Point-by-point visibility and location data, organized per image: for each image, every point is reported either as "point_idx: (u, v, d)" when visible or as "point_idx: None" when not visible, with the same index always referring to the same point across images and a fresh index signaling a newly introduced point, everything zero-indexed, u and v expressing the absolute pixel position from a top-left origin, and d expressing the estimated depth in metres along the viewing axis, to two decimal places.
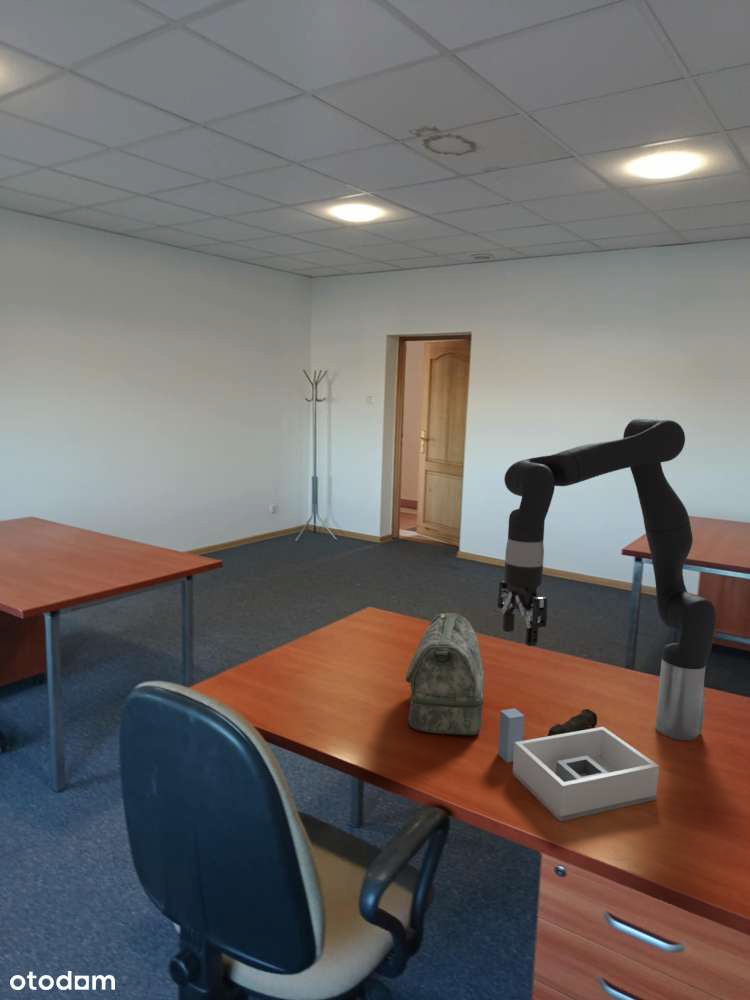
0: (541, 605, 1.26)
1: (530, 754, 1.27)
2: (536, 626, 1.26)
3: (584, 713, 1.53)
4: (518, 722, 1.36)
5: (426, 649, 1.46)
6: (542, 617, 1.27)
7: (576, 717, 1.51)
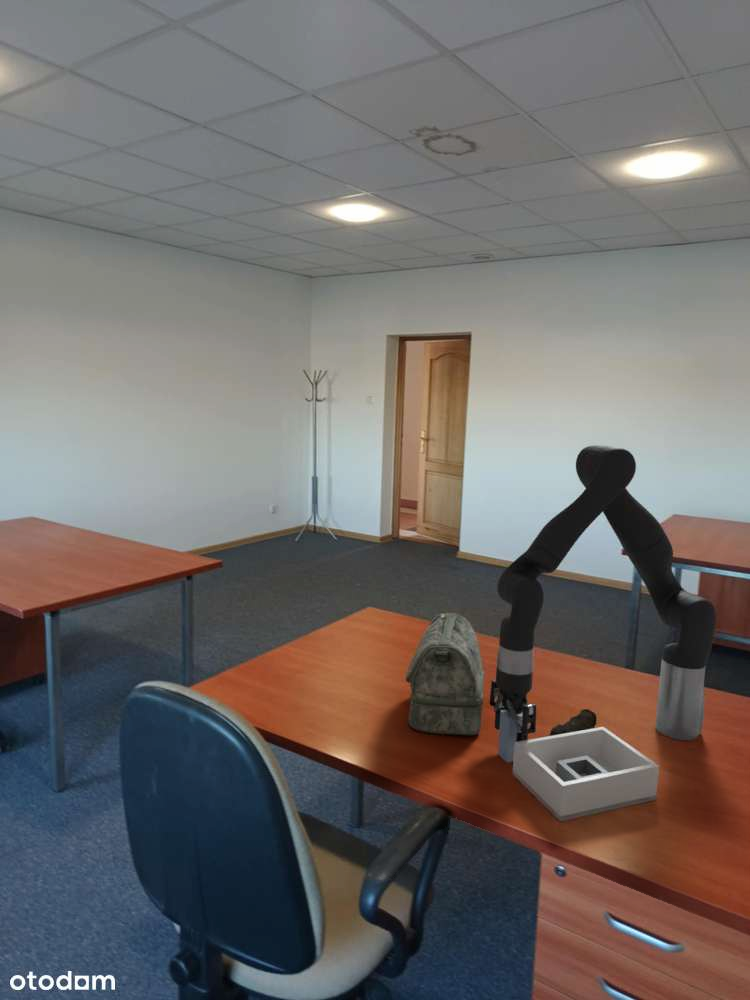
0: (530, 712, 1.31)
1: (530, 754, 1.27)
2: (526, 733, 1.31)
3: (583, 713, 1.53)
4: None
5: (426, 649, 1.46)
6: (531, 723, 1.32)
7: (576, 717, 1.51)
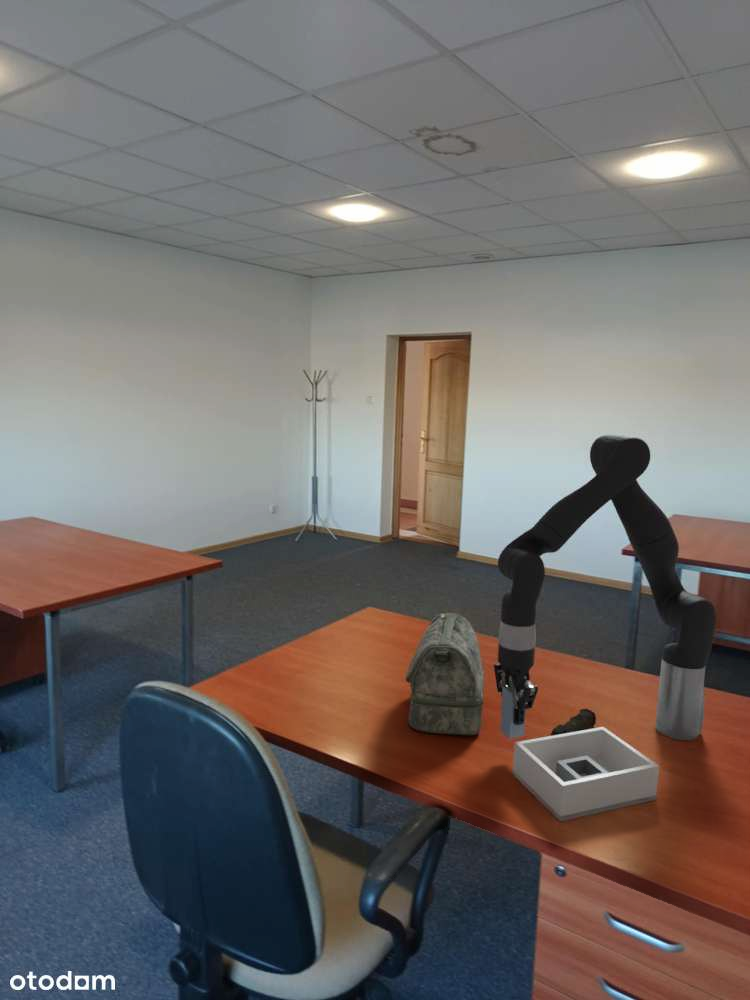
0: (531, 694, 1.31)
1: (530, 754, 1.27)
2: (522, 708, 1.32)
3: (583, 713, 1.53)
4: None
5: (426, 649, 1.46)
6: (529, 700, 1.33)
7: (576, 717, 1.51)
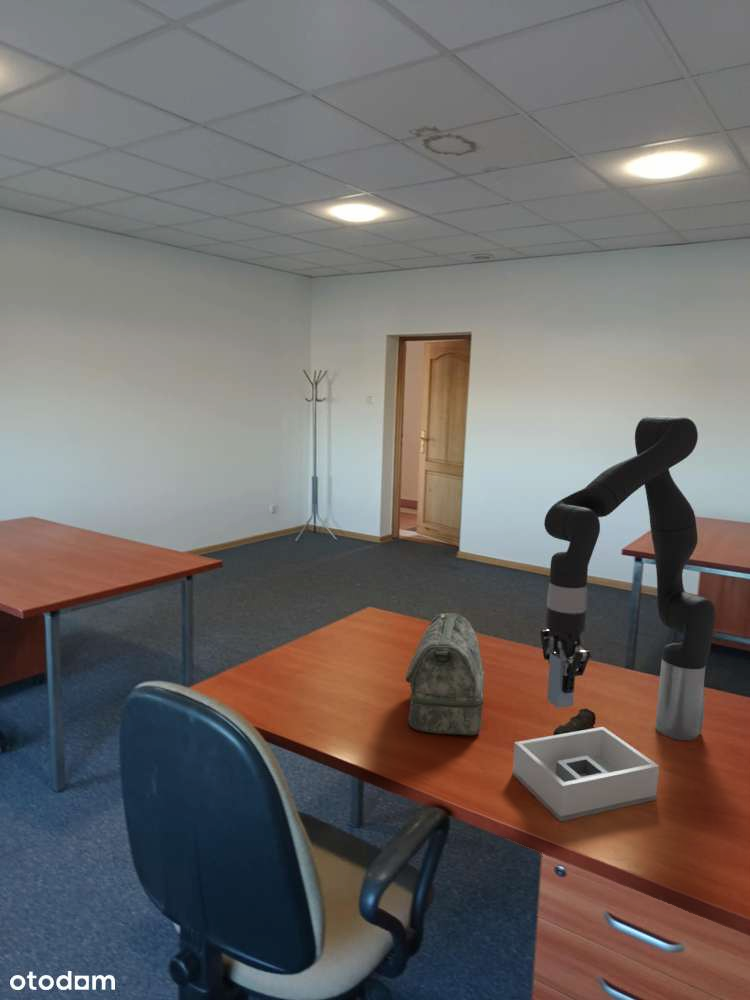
0: (583, 659, 1.23)
1: (530, 754, 1.27)
2: (573, 675, 1.25)
3: (582, 713, 1.53)
4: (570, 665, 1.28)
5: (426, 649, 1.46)
6: (580, 666, 1.25)
7: (576, 717, 1.51)
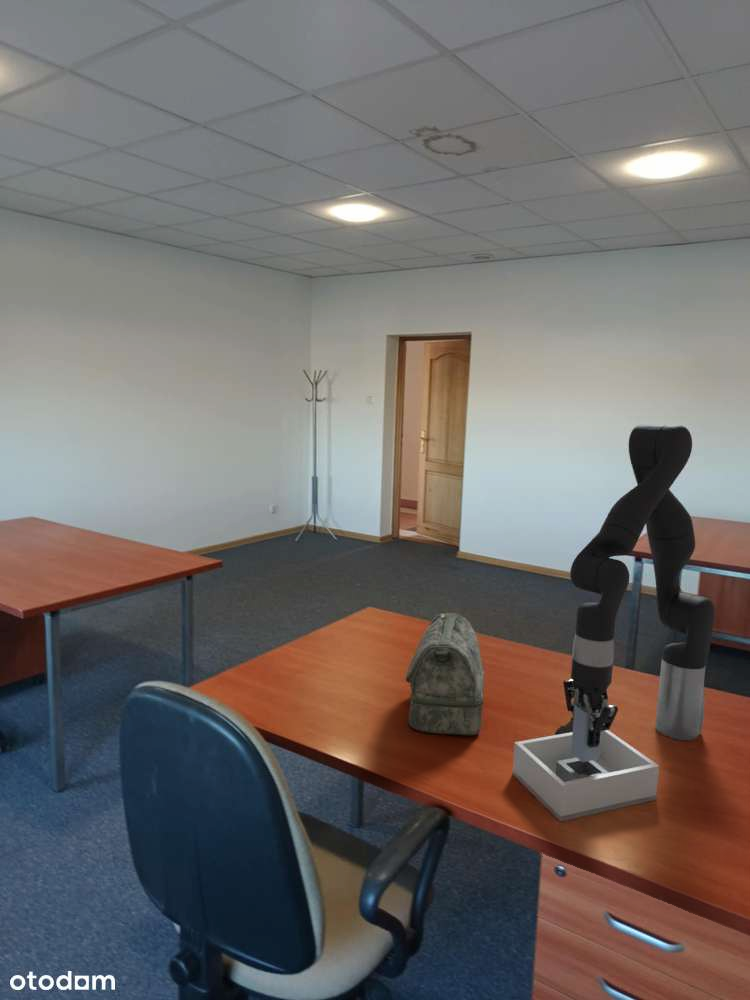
0: (610, 714, 1.20)
1: (530, 754, 1.27)
2: (599, 730, 1.22)
3: None
4: (596, 718, 1.25)
5: (426, 649, 1.46)
6: None
7: None
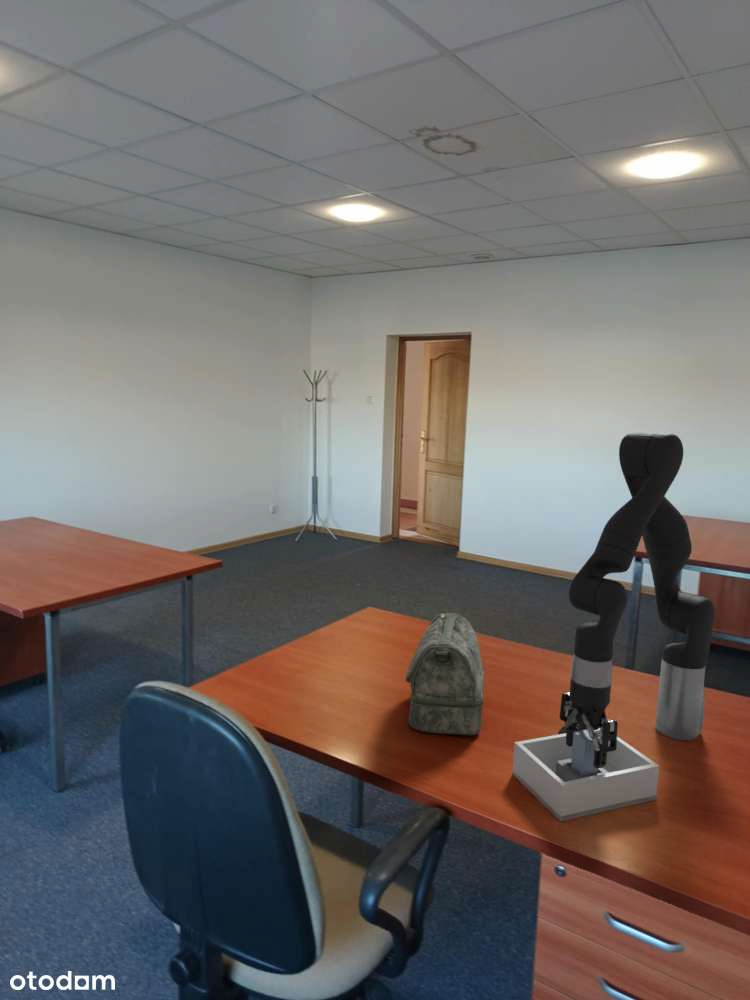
0: (611, 729, 1.20)
1: (530, 754, 1.27)
2: (606, 751, 1.20)
3: None
4: None
5: (426, 649, 1.46)
6: (612, 740, 1.22)
7: None
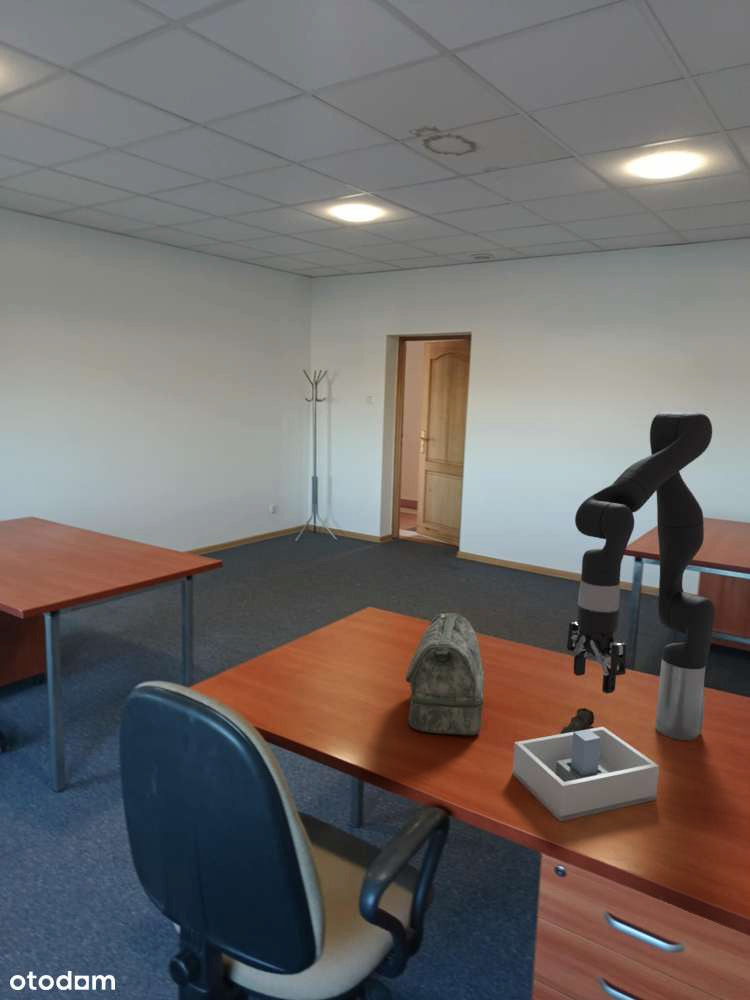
0: (620, 652, 1.20)
1: (530, 754, 1.27)
2: (615, 674, 1.20)
3: (581, 712, 1.53)
4: (594, 745, 1.26)
5: (426, 649, 1.46)
6: (621, 664, 1.21)
7: (577, 717, 1.51)
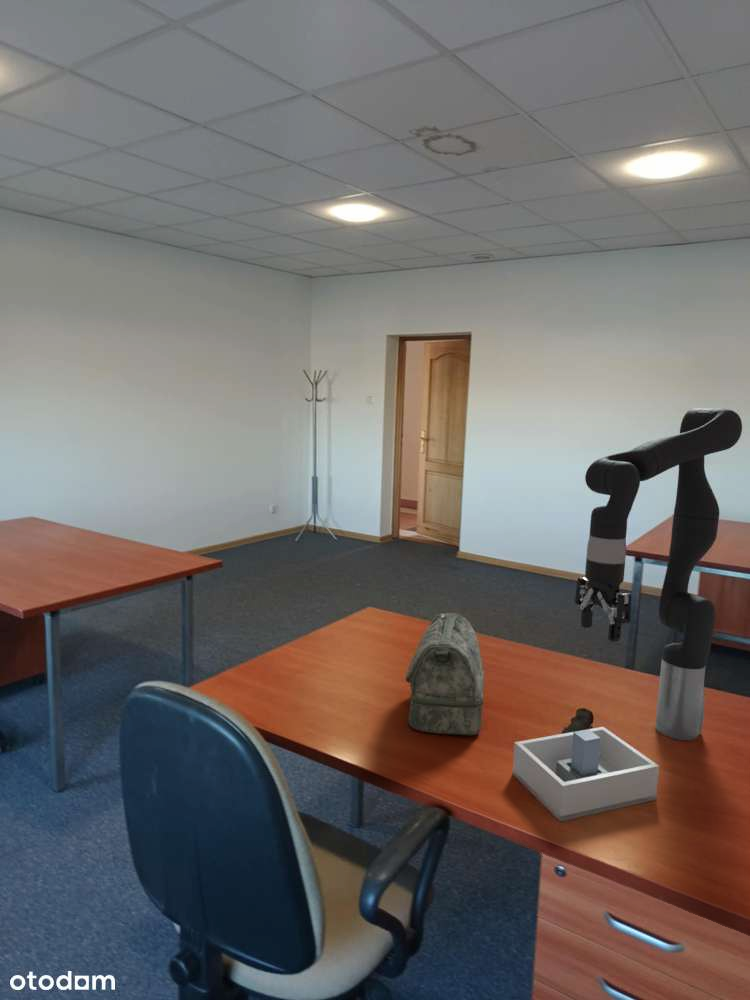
0: (626, 601, 1.27)
1: (530, 754, 1.27)
2: (621, 622, 1.27)
3: (581, 713, 1.53)
4: (594, 745, 1.26)
5: (426, 649, 1.46)
6: (626, 613, 1.29)
7: (577, 718, 1.51)
